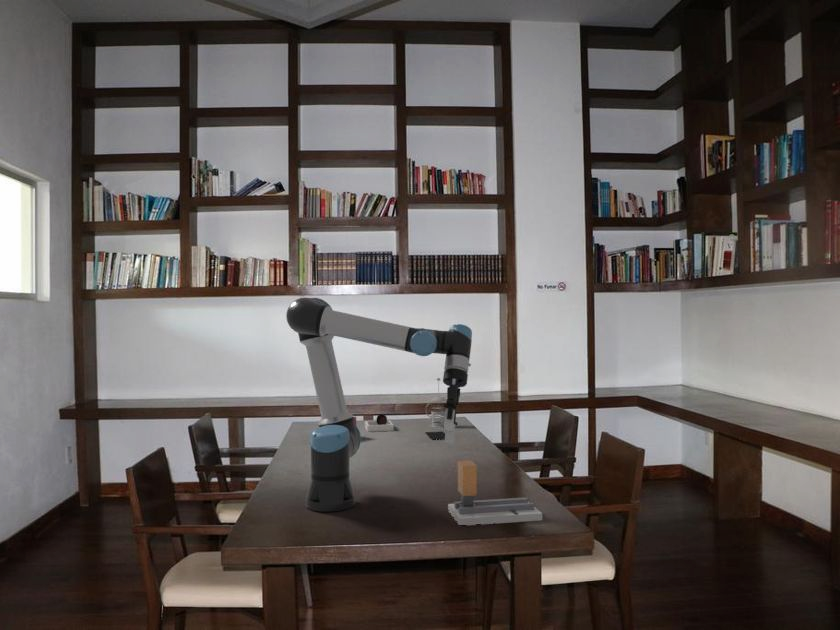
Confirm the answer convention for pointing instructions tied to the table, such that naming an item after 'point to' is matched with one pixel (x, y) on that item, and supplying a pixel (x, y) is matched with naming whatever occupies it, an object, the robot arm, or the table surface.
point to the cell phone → (436, 435)
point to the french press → (437, 411)
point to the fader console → (495, 511)
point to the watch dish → (378, 426)
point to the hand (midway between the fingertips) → (448, 437)
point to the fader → (467, 482)
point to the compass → (381, 419)
